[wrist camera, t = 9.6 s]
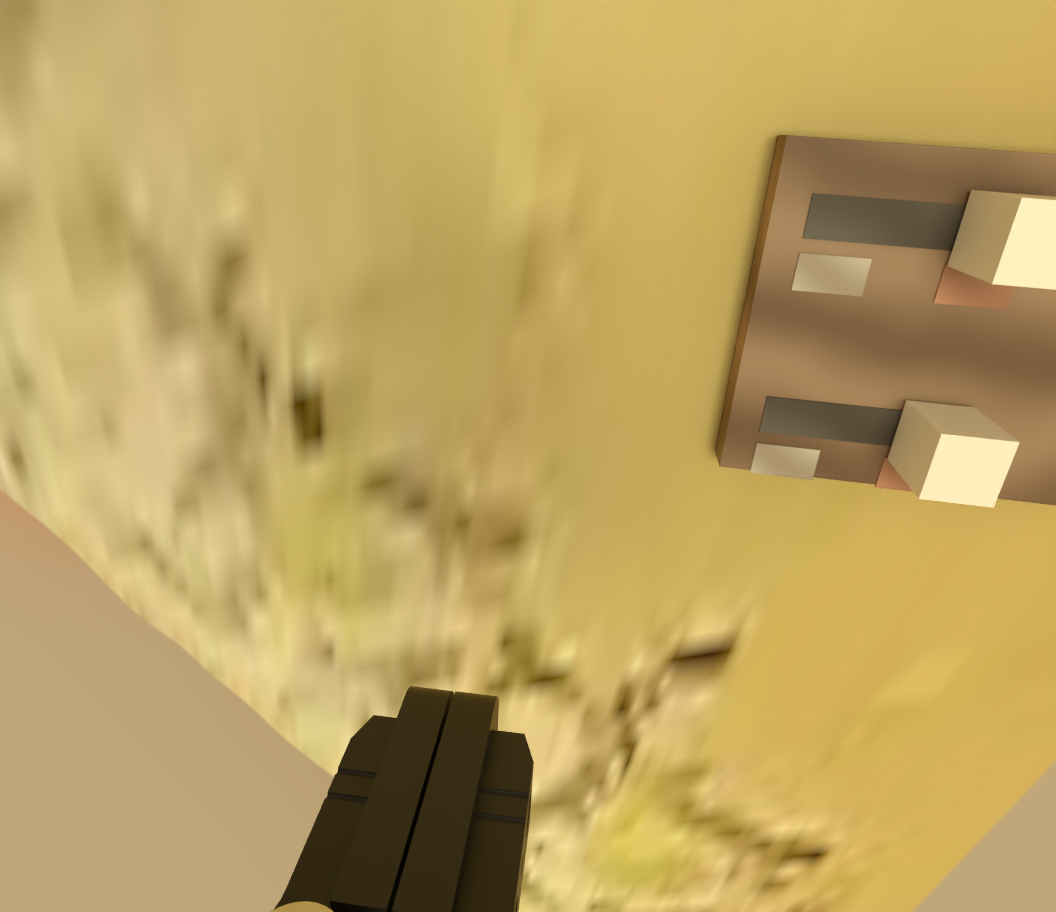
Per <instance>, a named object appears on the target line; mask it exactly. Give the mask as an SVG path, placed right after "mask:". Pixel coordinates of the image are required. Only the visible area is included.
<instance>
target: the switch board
mask: <svg viewBox="0 0 1056 912" xmlns="http://www.w3.org/2000/svg"><path fill="white" fill-rule="evenodd" d="M971 190H978V191H991V192H1004V193H1018V194H1031V195H1044V196H1054V197H1056V154H1042V153H1028V152H1014V151H1000V150H986V149H972V148H958V147H944V146H930V145H916V144H902V143H888V142H873V141H859V140H845V139H831V138H817V137H803V136H789V135H780V136H778V137H777V142H776V147H775V152H774V157H773V162H772V167H771V172H770V177H769V182H768V187H767V192H766V197H765V202H764V207H763V212H762V217H761V222H760V227H759V232H758V237H757V242H756V247H755V252H754V257H753V262H752V267H751V272H750V277H749V282H748V287H747V292H746V298H745V303H744V308H743V313H742V318H741V323H740V328H739V333H738V338H737V343H736V348H735V353H734V358H733V363H732V368H731V373H730V378H729V383H728V388H727V393H726V398H725V403H724V408H723V413H722V418H721V423H720V428H719V433H718V438H717V443H716V448H715V451H716V455H717V459H718V462H719V466H721V467H730V468H738V469H747V470H750V473H757V474H765V475H774V476H783V477H791V478H800V479H808V480H813V477H816V478H825V479H833V480H842V481H851V482H859V483H868V484H875V487H877V488H886V489H895V490H903V491H912V490H911V488H910V487H909V486H908V485H907V483H906V482H905V481H904V479H903V478H902V477H901V476H900V474H899V473H898V472H897V471H896V469H895V468H894V467H893V466H892V464H891V463H890V462H889V461H888V456H889V453H890V450H891V446H892V443H893V440H894V437H895V434H896V431H897V428H898V424H899V421H900V418H901V415H902V412H903V409H904V405H905V402H906V400H909V401H919V402H929V403H938V404H948V405H957V406H967V407H975V408H977V409H978V410H979V411H980V412H982V413H983V414H984V415H986V416H987V417H988V418H989V419H991V420H992V421H993V422H994V423H996V424H997V425H998V426H1000V427H1001V428H1002V429H1003V430H1005V431H1006V432H1007V433H1009V434H1010V435H1011V436H1012V437H1014V438H1015V439H1016V440H1018V441H1019V442H1020V443H1019V445H1018V448H1017V450H1016V453H1015V455H1014V458H1013V460H1012V463H1011V465H1010V468H1009V470H1008V473H1007V475H1006V478H1005V480H1004V483H1003V485H1002V488H1001V490H1000V493H999V495H998V499H1006V500H1015V501H1023V502H1032V503H1041V504H1049V505H1056V290H1053V289H1041V288H1030V287H1019V286H1007V285H996V284H990V283H988V282H985V281H983V280H981V279H978V278H976V277H973V276H971V275H968V274H966V273H963V272H961V271H958V270H956V269H953V268H951V267H948V262H949V259H950V256H951V253H952V250H953V247H954V243H955V240H956V237H957V234H958V231H959V228H960V224H961V221H962V218H963V215H964V212H965V209H966V205H967V202H968V199H969V196H970V193H971ZM912 492H913V491H912Z"/></svg>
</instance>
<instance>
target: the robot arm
mask: <svg viewBox="0 0 1056 912" xmlns="http://www.w3.org/2000/svg"><path fill="white" fill-rule="evenodd" d="M498 708H499V699H498V697H497V696H489V695H481V694H472V693H464V692H455V693H454V692H453V691H446V690H438V689H430V688H421V687H413V686H411V687H409V689H408V690H407V692H406V695H405V698H404V700H403V703H402V706H401V708H400V711H399V714H398V717H397V718H392V717H384V716H376V715H373V716H372V717H371V718H370V719H369V721H368V722H367V723H366V724H365V725H364V726H363V727H362V728H361V729H360V730H359V731H358V732H357V733H356V734H355V735H354V736H353V737H352V738H351V739H350V742H349V744H348V746H347V749H346V751H345V753H344V756H343V758H342V760H341V762H340V765H339V767H338V772H337V774H335V776H334V779H333V781H332V783H331V786H330V788H329V790H328V796H327V798H325V800H324V802H323V804H322V807H321V810H320V812H319V814H318V816H317V818H316V821H315V823H314V825H313V828H312V830H311V832H310V835H309V837H308V839H307V842H306V844H305V846H304V849H303V851H302V853H301V855H300V858H299V860H298V863H297V865H296V867H295V870H294V872H293V874H292V876H291V879H290V881H289V883H288V886H287V888H286V890H285V892H284V894H283V896H282V898H281V900H280V901H279V903H278V904H277V906H276V907H275V909H274V910H273V911H271V912H518V910H519V902H520V894H521V885H522V878H523V870H524V862H525V854H526V846H527V839H528V831H529V822H530V807H531V792H532V778H533V763H534V762H533V759H532V756H531V753H530V750H529V747H528V744H527V741H526V737H525V734H521V733H513V732H505V731H498Z"/></svg>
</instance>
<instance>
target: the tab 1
mask: <svg viewBox="0 0 1056 912" xmlns="http://www.w3.org/2000/svg"><path fill="white" fill-rule="evenodd" d="M948 267H951V268H953V269H956V270H958V271H961V272H963V273H966V274H968V275H971V276H973V277H976V278H978V279H981V280H983V281H985V282H988V283H990V284H996V285H1007V286H1019V287H1030V288H1041V289H1053V290H1056V197H1054V196H1044V195H1031V194H1018V193H1004V192H991V191H978V190H971V193H970V196H969V199H968V202H967V205H966V209H965V212H964V215H963V218H962V221H961V224H960V228H959V231H958V234H957V237H956V240H955V243H954V247H953V250H952V253H951V256H950V259H949V262H948Z"/></svg>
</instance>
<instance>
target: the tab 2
mask: <svg viewBox="0 0 1056 912" xmlns="http://www.w3.org/2000/svg"><path fill="white" fill-rule="evenodd" d="M1019 443H1020V442H1019V441H1018V440H1016V439H1015V438H1014V437H1012V436H1011V435H1010V434H1009V433H1007V432H1006V431H1005V430H1003V429H1002V428H1001V427H1000V426H998V425H997V424H996V423H994V422H993V421H992V420H991V419H989V418H988V417H987V416H986V415H984V414H983V413H982V412H980V411H979V410H978V409H977V408H975V407H967V406H957V405H948V404H938V403H929V402H919V401H909V400H906V402H905V405H904V409H903V412H902V415H901V418H900V421H899V424H898V428H897V431H896V434H895V437H894V440H893V443H892V446H891V450H890V453H889V456H888V461H889V462H890V463H891V464H892V466H893V467H894V468H895V469H896V471H897V472H898V473H899V474H900V476H901V477H902V478H903V479H904V481H905V482H906V483H907V485H908V486H909V487H910V488H911V490H912V491H913V492H914V493H915V495H916V496H917V497H918V498H919V499H925V500H933V501H942V502H950V503H959V504H967V505H976V506H985V507H993V508H994V505H995V503H996V500H997V498H998V495H999V493H1000V490H1001V488H1002V485H1003V483H1004V480H1005V478H1006V475H1007V473H1008V470H1009V468H1010V465H1011V463H1012V460H1013V458H1014V455H1015V453H1016V450H1017V448H1018V445H1019Z"/></svg>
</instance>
